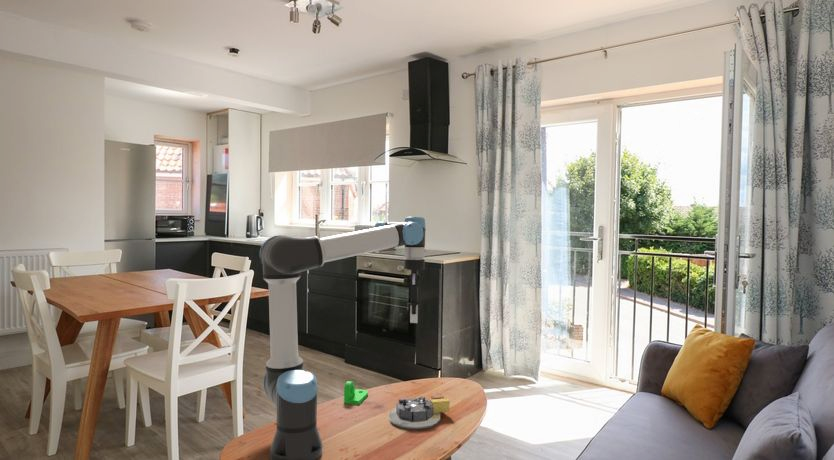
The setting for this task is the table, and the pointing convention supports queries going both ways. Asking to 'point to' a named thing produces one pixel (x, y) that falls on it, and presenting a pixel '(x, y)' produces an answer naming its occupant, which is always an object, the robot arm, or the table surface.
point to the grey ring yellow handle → (424, 413)
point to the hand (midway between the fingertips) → (413, 322)
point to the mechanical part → (353, 394)
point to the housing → (416, 424)
